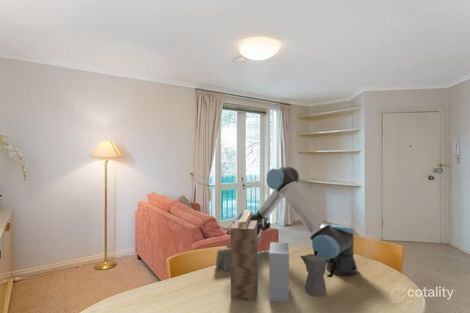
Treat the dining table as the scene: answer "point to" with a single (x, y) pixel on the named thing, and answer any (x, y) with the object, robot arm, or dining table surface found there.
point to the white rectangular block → (279, 272)
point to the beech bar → (245, 219)
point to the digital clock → (224, 259)
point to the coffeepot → (317, 273)
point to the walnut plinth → (244, 261)
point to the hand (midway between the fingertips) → (249, 220)
